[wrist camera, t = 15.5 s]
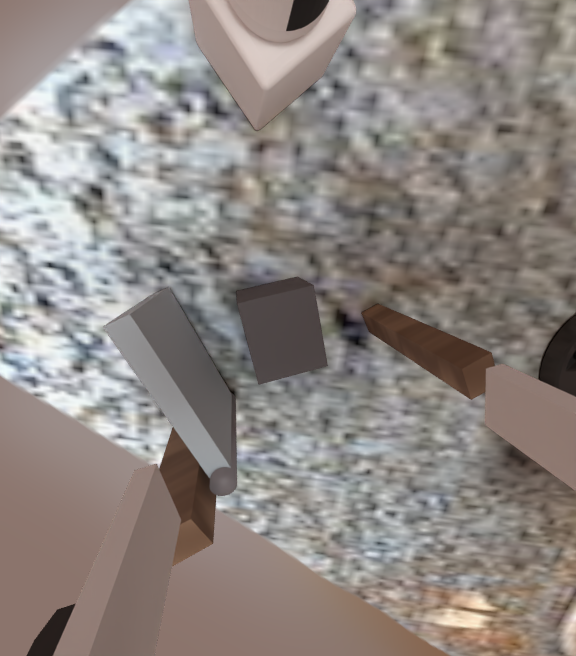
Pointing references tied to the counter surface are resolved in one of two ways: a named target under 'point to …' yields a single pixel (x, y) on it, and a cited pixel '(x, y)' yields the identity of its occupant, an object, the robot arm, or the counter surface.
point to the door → (181, 382)
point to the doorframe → (388, 325)
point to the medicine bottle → (269, 47)
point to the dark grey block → (282, 328)
